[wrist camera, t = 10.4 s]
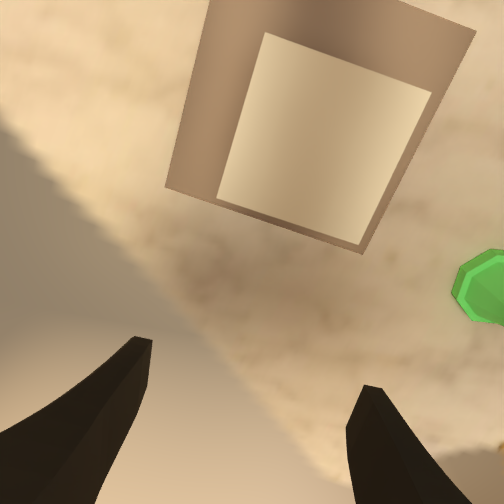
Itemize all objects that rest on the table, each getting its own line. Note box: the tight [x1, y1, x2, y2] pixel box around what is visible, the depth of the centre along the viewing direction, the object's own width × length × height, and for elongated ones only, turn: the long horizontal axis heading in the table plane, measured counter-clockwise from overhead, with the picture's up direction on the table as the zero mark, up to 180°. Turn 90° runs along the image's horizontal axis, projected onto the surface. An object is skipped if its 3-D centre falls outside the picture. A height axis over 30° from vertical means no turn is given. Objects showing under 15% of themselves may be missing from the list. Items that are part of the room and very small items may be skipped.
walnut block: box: [165, 0, 477, 255], centre depth 17 cm, size 9×9×4 cm
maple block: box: [216, 32, 432, 245], centre depth 12 cm, size 4×4×6 cm
